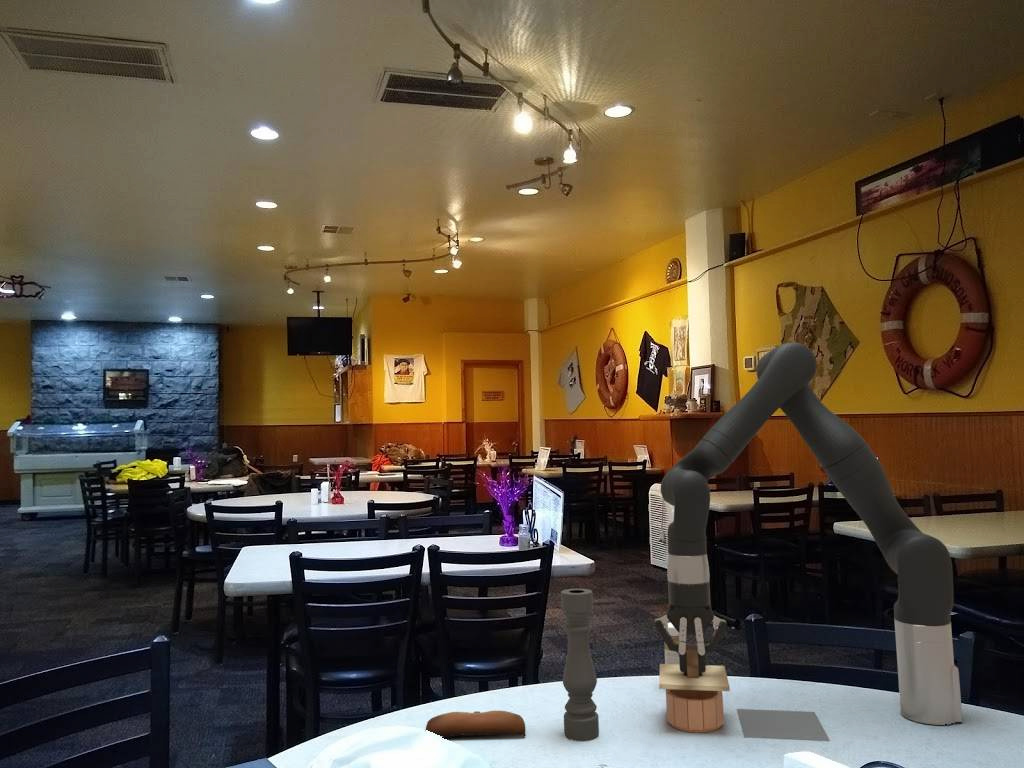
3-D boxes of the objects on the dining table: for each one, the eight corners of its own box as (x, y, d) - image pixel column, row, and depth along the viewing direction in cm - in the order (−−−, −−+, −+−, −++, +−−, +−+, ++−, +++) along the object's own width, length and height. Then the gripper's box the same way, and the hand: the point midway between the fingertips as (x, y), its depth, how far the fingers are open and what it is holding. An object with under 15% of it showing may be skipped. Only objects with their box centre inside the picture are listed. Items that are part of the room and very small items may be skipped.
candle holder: (603, 730, 136) (598, 589, 138) (592, 743, 131) (587, 595, 133) (571, 725, 139) (566, 587, 141) (559, 738, 133) (554, 593, 135)
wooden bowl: (721, 716, 142) (720, 683, 142) (725, 737, 132) (724, 701, 132) (667, 714, 144) (665, 681, 144) (667, 734, 134) (665, 699, 134)
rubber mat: (814, 714, 141) (814, 711, 141) (830, 743, 127) (830, 741, 128) (736, 711, 144) (736, 708, 144) (744, 739, 130) (744, 737, 130)
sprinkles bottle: (692, 689, 157) (689, 623, 158) (680, 695, 154) (676, 627, 155) (673, 685, 160) (670, 620, 161) (661, 690, 157) (658, 624, 158)
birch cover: (724, 670, 143) (723, 638, 143) (729, 691, 131) (728, 657, 132) (660, 668, 145) (658, 637, 146) (659, 688, 134) (658, 655, 134)
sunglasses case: (525, 720, 142) (524, 694, 139) (526, 753, 136) (525, 727, 133) (429, 723, 142) (427, 697, 139) (426, 756, 136) (423, 730, 133)
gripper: (725, 575, 142) (730, 669, 141) (651, 574, 145) (654, 667, 143) (728, 582, 135) (733, 682, 133) (650, 581, 137) (654, 679, 136)
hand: (692, 674), depth 138 cm, fingers closed on birch cover
